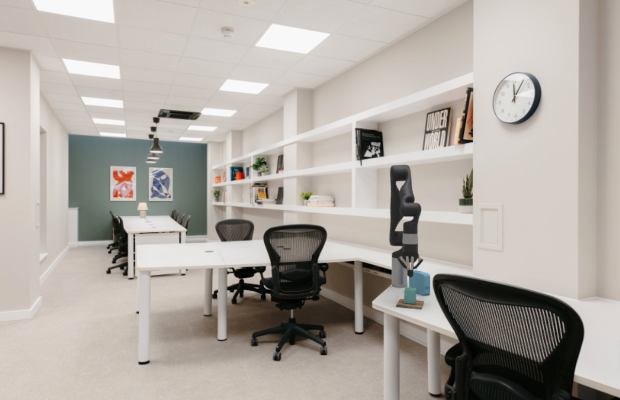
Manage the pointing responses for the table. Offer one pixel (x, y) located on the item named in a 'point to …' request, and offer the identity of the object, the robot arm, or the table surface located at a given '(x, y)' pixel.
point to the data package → (420, 282)
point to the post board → (407, 305)
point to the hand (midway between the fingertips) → (410, 277)
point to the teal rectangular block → (410, 295)
